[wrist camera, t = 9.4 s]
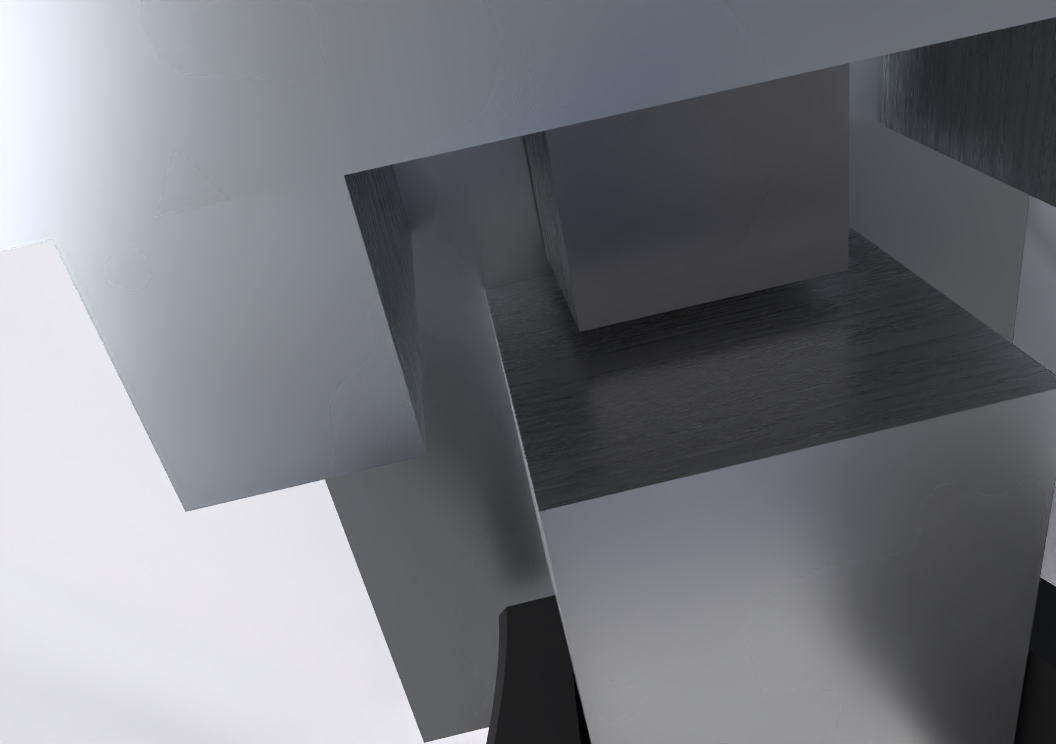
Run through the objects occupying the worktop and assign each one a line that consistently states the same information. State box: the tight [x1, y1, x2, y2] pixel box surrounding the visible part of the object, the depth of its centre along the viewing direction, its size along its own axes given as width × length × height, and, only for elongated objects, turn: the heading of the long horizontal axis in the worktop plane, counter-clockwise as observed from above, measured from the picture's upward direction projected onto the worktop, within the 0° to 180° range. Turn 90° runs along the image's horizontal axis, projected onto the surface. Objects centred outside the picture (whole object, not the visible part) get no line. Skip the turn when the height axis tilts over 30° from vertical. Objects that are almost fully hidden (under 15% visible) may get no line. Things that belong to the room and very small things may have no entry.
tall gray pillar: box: [485, 226, 1056, 744], centre depth 10 cm, size 9×4×4 cm, turn 10°
